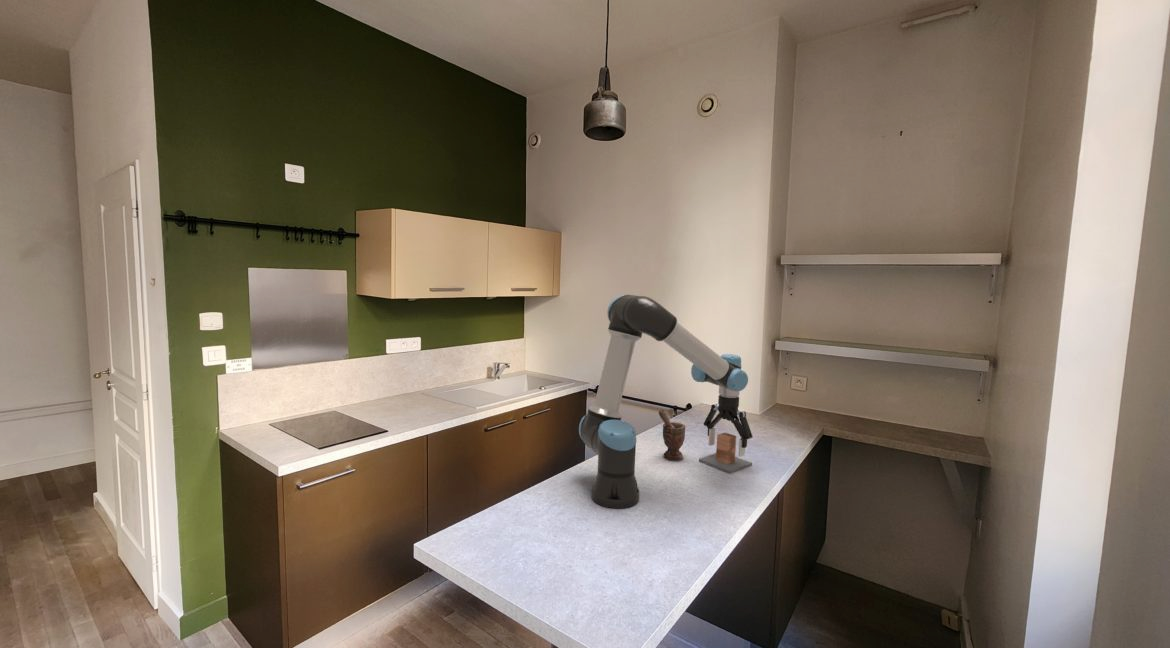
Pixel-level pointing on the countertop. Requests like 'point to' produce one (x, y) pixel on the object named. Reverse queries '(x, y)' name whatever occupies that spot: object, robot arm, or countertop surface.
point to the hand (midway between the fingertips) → (725, 450)
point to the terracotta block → (726, 448)
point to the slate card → (724, 467)
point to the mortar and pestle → (672, 437)
